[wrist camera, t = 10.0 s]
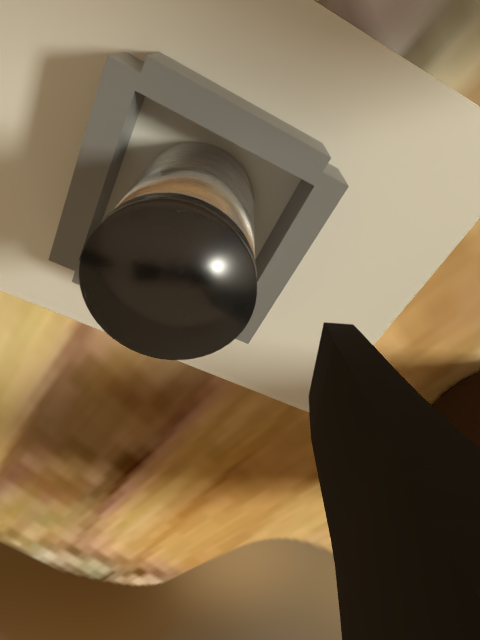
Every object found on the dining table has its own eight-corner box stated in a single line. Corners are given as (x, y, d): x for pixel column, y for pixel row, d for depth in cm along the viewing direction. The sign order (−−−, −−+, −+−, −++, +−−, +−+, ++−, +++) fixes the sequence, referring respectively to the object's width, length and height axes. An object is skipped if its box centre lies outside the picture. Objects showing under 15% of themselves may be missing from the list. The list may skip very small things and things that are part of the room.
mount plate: (528, 140, 16) (578, 160, 14) (313, 404, 24) (320, 448, 21) (-31, -217, 12) (-107, -282, 9) (-81, 245, 19) (-130, 278, 17)
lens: (259, 143, 16) (263, 208, 10) (252, 258, 18) (251, 364, 13) (133, 136, 16) (64, 198, 10) (143, 252, 18) (91, 356, 13)
